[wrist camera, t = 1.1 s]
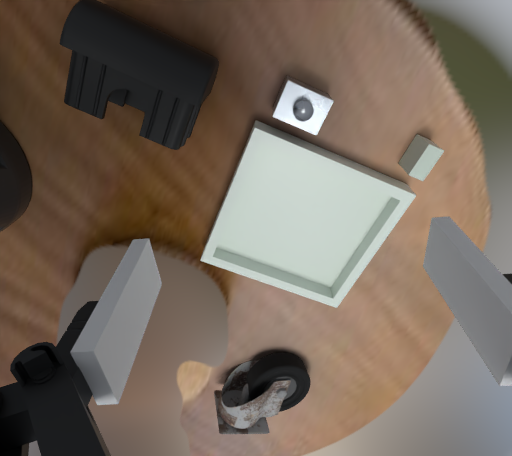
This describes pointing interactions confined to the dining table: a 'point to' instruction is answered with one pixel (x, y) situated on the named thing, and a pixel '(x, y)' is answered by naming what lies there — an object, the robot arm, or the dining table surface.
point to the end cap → (135, 71)
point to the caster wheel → (260, 393)
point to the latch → (302, 105)
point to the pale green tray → (308, 213)
